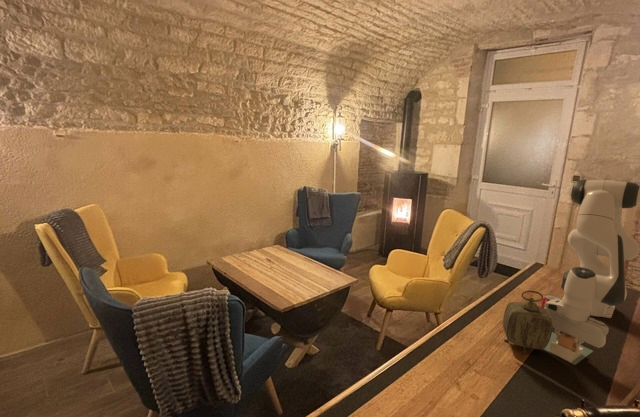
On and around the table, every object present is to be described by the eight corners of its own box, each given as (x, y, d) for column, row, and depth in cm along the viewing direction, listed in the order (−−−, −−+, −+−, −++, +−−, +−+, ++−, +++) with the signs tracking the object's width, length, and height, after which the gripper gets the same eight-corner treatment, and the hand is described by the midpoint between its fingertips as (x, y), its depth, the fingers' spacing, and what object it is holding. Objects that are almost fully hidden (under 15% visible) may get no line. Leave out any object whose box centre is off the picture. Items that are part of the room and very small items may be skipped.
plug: (563, 346, 128) (567, 328, 127) (575, 351, 125) (579, 334, 123) (556, 351, 125) (559, 333, 124) (568, 357, 122) (572, 338, 120)
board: (537, 327, 144) (537, 325, 143) (592, 353, 127) (593, 350, 127) (517, 338, 135) (518, 336, 135) (574, 367, 119) (574, 365, 119)
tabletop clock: (540, 348, 129) (552, 289, 124) (547, 362, 121) (560, 300, 116) (499, 339, 134) (509, 283, 128) (503, 353, 126) (514, 293, 120)
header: (560, 343, 131) (562, 335, 130) (581, 354, 125) (584, 344, 124) (549, 351, 126) (551, 342, 125) (570, 362, 120) (573, 352, 119)
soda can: (560, 327, 144) (565, 302, 142) (542, 324, 146) (547, 300, 143) (552, 318, 151) (557, 294, 148) (535, 316, 152) (540, 292, 150)
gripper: (613, 322, 115) (604, 357, 118) (548, 297, 131) (542, 328, 135) (606, 327, 111) (597, 363, 114) (540, 301, 128) (534, 332, 131)
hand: (567, 344), depth 125 cm, fingers closed on plug, 4 cm apart
